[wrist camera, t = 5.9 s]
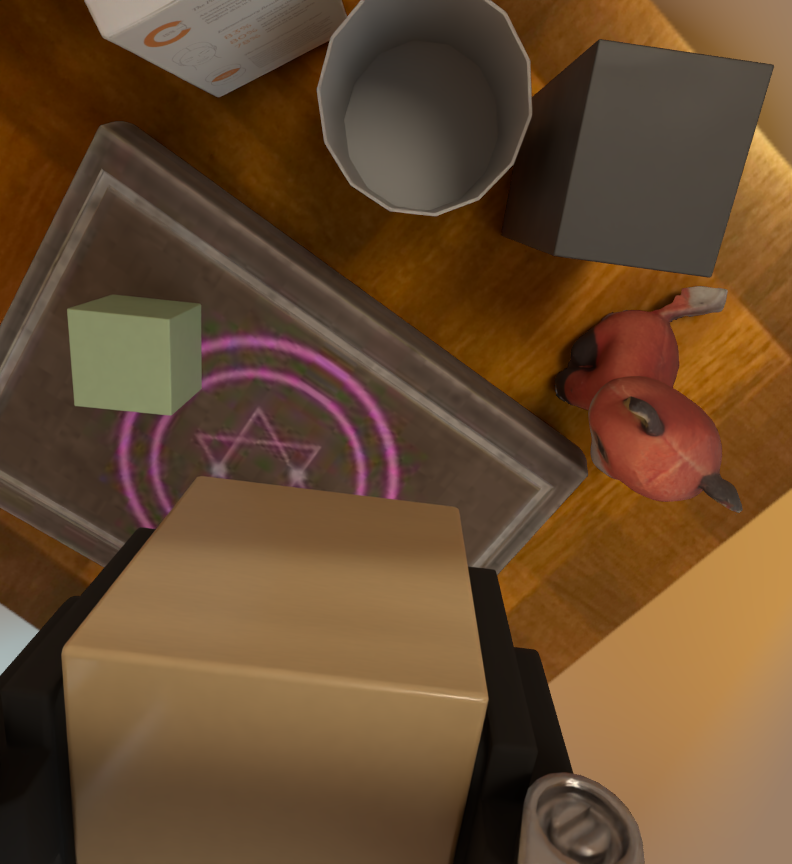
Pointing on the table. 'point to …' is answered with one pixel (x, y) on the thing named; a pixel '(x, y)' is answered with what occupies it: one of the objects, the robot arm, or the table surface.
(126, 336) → the sage block
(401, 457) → the book
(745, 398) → the table surface
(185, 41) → the small box
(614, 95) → the stand
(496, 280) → the table surface
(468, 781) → the birch block
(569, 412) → the table surface
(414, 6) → the cup
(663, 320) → the stuffed fox
